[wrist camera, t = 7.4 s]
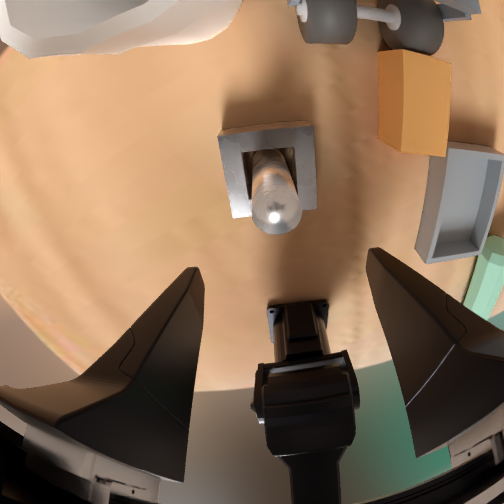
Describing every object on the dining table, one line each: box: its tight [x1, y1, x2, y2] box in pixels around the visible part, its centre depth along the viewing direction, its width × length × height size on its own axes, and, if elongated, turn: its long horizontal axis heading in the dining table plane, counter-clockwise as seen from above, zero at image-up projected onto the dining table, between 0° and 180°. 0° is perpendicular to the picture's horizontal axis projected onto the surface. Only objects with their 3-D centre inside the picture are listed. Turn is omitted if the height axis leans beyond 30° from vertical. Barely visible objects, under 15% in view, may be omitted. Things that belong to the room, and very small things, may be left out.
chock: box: [377, 49, 451, 157], centre depth 14 cm, size 7×4×4 cm, turn 5°
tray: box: [415, 141, 504, 264], centre depth 19 cm, size 11×8×2 cm
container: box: [463, 235, 504, 320], centre depth 27 cm, size 6×6×25 cm
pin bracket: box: [217, 120, 317, 218], centre depth 18 cm, size 6×6×2 cm
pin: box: [252, 149, 302, 235], centre depth 16 cm, size 2×2×8 cm
